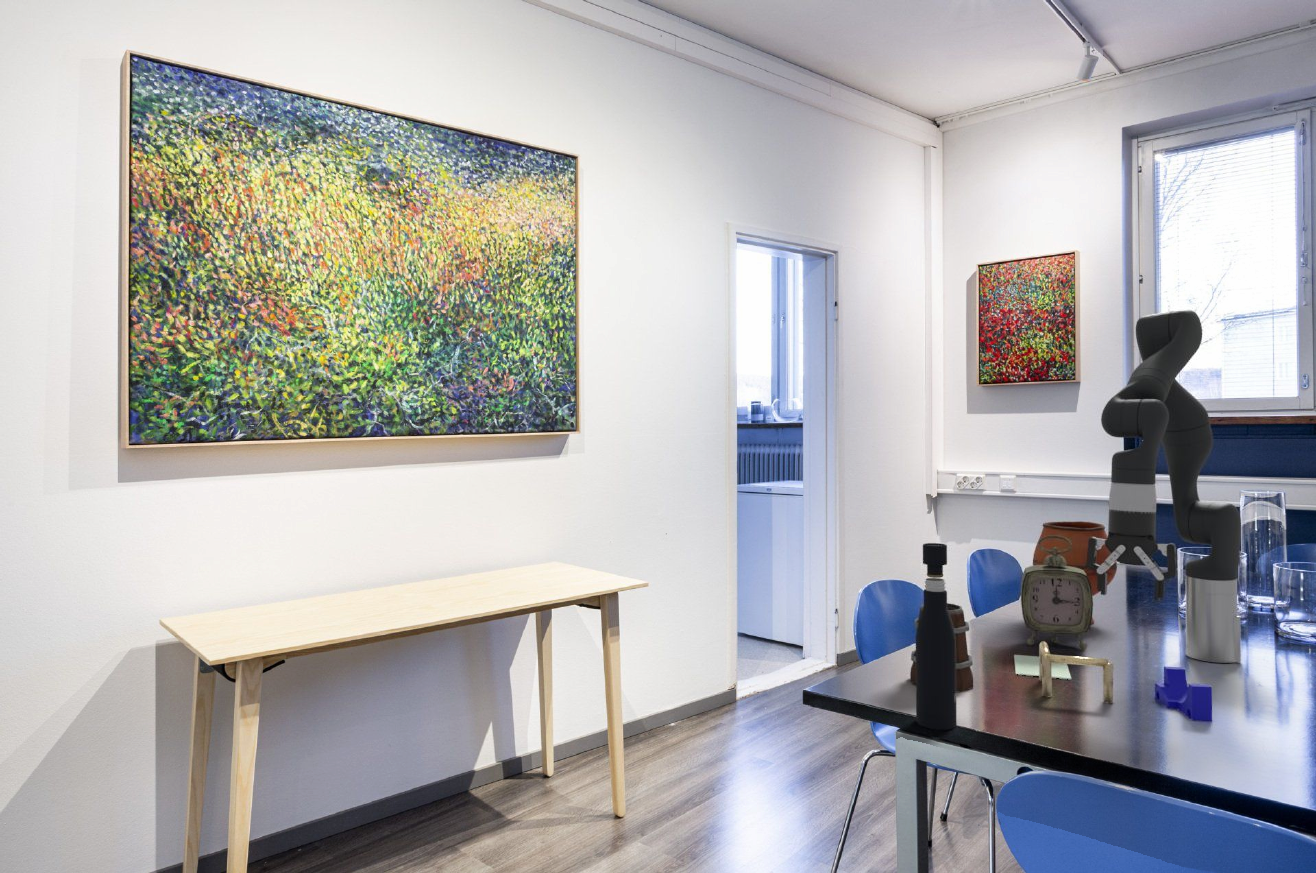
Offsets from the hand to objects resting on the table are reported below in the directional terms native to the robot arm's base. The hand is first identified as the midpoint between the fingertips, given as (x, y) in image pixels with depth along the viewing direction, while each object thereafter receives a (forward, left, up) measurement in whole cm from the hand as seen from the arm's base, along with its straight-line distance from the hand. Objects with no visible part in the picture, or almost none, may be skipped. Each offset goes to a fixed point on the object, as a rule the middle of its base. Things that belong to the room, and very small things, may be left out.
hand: (1129, 597), depth 152 cm
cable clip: (-7, +4, -19) cm, 21 cm away
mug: (+32, 0, -19) cm, 37 cm away
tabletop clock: (+10, -37, -19) cm, 42 cm away
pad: (+14, -16, -18) cm, 28 cm away
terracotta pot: (+4, -64, -19) cm, 67 cm away
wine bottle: (+32, +26, -19) cm, 45 cm away
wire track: (+9, -1, -18) cm, 20 cm away
